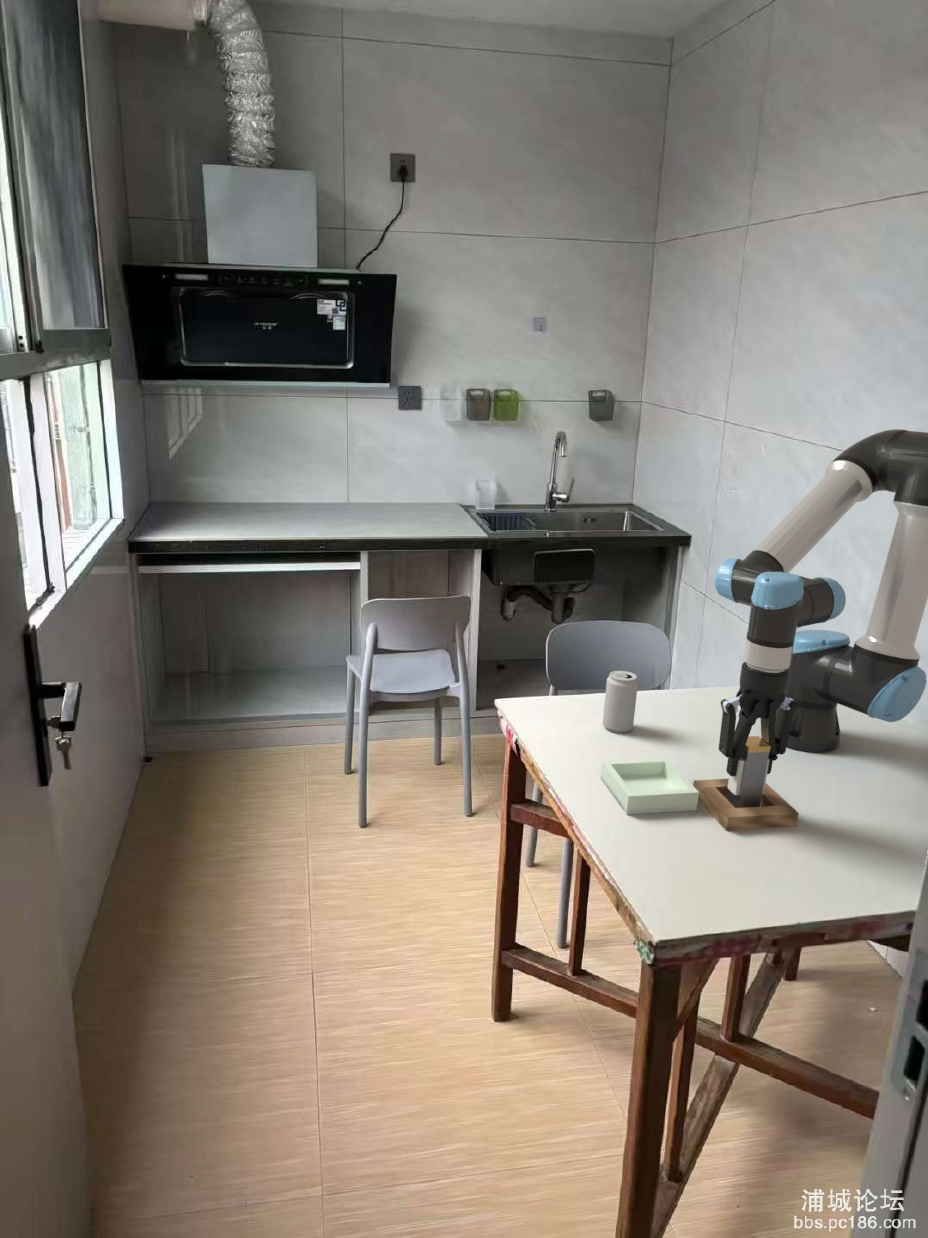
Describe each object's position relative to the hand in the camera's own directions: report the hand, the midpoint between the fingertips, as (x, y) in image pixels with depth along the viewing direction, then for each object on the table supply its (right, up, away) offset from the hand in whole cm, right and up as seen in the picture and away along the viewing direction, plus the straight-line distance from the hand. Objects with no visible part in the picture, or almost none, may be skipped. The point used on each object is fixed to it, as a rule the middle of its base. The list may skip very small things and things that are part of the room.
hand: (745, 790), depth 151 cm
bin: (-16, -2, +5) cm, 17 cm away
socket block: (0, -3, +1) cm, 4 cm away
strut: (0, -3, +1) cm, 4 cm away
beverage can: (-17, +7, +32) cm, 37 cm away
